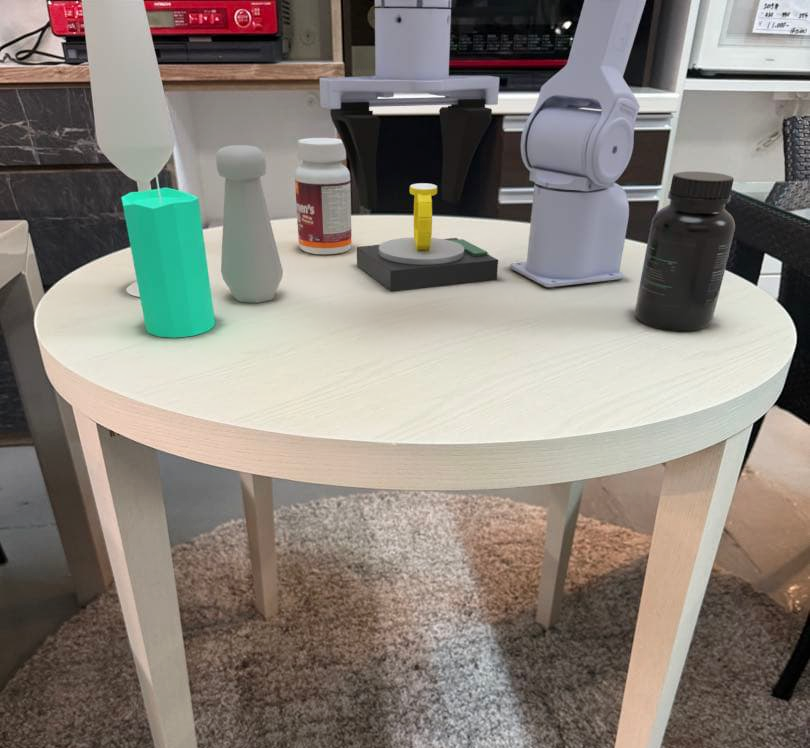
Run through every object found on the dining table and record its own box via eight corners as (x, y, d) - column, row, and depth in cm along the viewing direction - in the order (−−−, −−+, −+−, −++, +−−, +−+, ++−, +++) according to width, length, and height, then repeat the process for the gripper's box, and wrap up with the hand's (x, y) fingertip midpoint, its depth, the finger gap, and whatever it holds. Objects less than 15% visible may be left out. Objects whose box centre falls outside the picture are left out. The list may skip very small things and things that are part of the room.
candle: (152, 315, 68) (125, 169, 62) (219, 314, 69) (200, 169, 62) (138, 338, 63) (108, 182, 57) (211, 337, 64) (189, 182, 57)
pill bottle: (289, 247, 89) (281, 139, 82) (333, 240, 92) (329, 135, 86) (317, 258, 85) (311, 145, 78) (362, 250, 88) (360, 141, 82)
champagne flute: (182, 274, 79) (139, -9, 65) (205, 291, 74) (165, -10, 61) (117, 284, 76) (58, -11, 62) (138, 302, 71) (78, -13, 58)
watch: (406, 240, 82) (407, 179, 78) (432, 240, 82) (434, 180, 79) (410, 254, 77) (411, 191, 73) (437, 254, 77) (440, 191, 74)
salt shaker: (272, 308, 70) (258, 152, 63) (214, 303, 71) (194, 150, 64) (292, 289, 75) (281, 143, 68) (238, 285, 76) (221, 141, 69)
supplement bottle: (687, 306, 72) (718, 168, 66) (726, 329, 67) (764, 182, 60) (621, 309, 71) (645, 169, 64) (655, 334, 66) (686, 184, 59)
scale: (455, 255, 87) (456, 232, 85) (496, 279, 79) (498, 253, 78) (356, 265, 83) (356, 240, 81) (390, 291, 75) (390, 264, 74)
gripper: (337, 6, 51) (344, 220, 59) (524, 10, 56) (508, 207, 64) (307, 7, 56) (317, 202, 64) (480, 10, 61) (470, 192, 69)
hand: (410, 204), depth 64 cm, fingers open, 7 cm apart
